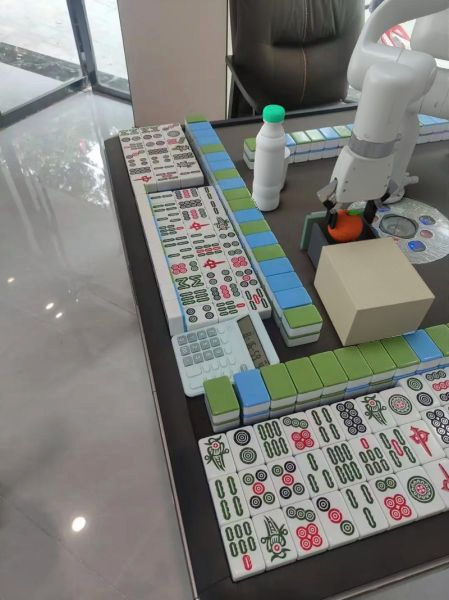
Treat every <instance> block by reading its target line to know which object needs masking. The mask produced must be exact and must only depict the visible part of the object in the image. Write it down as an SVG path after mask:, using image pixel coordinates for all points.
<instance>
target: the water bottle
mask: <svg viewBox="0 0 449 600" xmlns="http://www.w3.org/2000/svg"><path fill="white" fill-rule="evenodd" d="M285 116H286V110H285V108H284V107H283V106H281V105H278V104H269V105H266V106H265V107H264V108H263V110H262V120H263V125H262V126H261V127H260V130H259V131H258V133H257V135H256V138H255V151H254V163H253V180H252V193H251V199H252V198H253V199H254V201H255V202H256V204H257V206H258V208H259V210H258V211H262V212H271V211H274V210H275V209H277V208H278V206H279V204H280V197H281V196H280V193H281V190H282V189H281V178H282V173H283V166H284V158H285V146H286V147H287V143H288V142H287V135H286V133H285V129H284V127H283V124H282V123H283V122H284V121H285ZM280 189H281V190H280Z"/></svg>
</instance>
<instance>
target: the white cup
mask: <svg viewBox="0 0 449 600" xmlns="http://www.w3.org/2000/svg"><path fill="white" fill-rule="evenodd" d="M290 157H291V150H290V149H289V147H287V145H286V146H285V158H284V166H283V173H282V178H281V189H280V191H281V190H283V188H284V186H285V181H286V178H287V172H288V167H289V161H290Z"/></svg>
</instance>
